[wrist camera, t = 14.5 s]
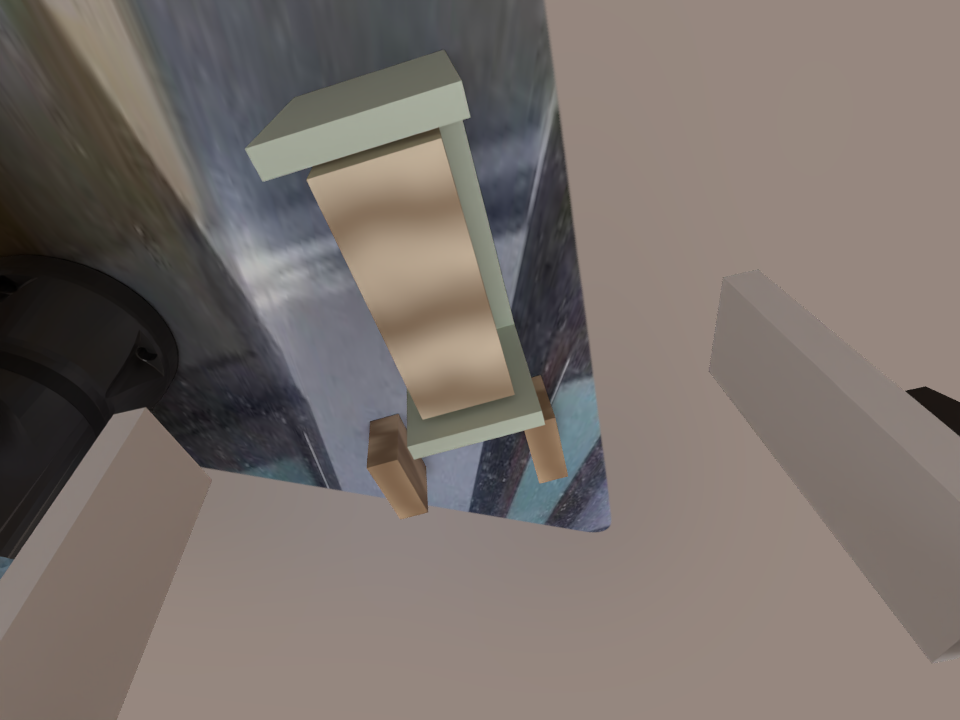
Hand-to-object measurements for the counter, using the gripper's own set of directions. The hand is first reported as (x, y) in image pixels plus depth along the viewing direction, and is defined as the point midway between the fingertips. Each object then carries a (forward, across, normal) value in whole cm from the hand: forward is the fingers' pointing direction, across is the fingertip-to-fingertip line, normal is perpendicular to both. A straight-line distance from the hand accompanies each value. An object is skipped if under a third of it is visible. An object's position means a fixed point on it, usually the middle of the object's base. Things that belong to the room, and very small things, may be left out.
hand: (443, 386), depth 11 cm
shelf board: (+19, -2, -8) cm, 21 cm away
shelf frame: (+27, -2, -8) cm, 28 cm away
